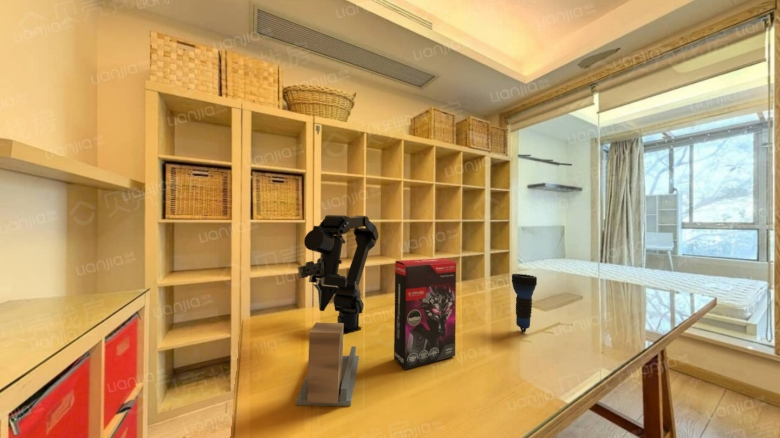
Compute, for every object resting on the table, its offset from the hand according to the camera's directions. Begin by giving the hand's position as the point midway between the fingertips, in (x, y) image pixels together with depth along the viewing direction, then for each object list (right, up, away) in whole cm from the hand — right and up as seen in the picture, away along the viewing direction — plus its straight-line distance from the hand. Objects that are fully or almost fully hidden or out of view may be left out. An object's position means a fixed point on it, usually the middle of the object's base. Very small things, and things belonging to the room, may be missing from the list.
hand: (321, 310), depth 75 cm
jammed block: (+6, -11, -20) cm, 23 cm away
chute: (+6, -12, -12) cm, 18 cm away
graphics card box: (+29, -13, -1) cm, 32 cm away
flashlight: (+66, -14, +19) cm, 70 cm away
